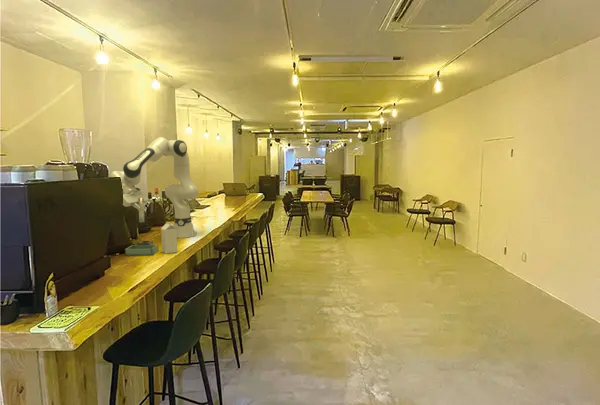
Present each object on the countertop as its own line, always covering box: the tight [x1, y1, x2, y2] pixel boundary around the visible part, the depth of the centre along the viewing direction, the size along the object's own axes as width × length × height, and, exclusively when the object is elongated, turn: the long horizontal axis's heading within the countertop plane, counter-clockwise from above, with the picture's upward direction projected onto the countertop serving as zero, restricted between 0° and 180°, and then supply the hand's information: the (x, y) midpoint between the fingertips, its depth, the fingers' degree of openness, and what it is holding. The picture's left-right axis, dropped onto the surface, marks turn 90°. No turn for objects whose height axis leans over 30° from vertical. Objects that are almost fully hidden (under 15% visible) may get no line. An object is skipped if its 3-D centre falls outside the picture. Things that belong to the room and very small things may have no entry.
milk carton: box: [160, 221, 178, 255], centre depth 230 cm, size 7×7×19 cm
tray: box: [124, 244, 159, 257], centre depth 227 cm, size 11×16×4 cm
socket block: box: [137, 240, 154, 245], centre depth 237 cm, size 7×7×5 cm
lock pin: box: [138, 198, 146, 223], centre depth 229 cm, size 3×3×15 cm
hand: (142, 208), depth 229 cm, fingers closed on lock pin, 3 cm apart
